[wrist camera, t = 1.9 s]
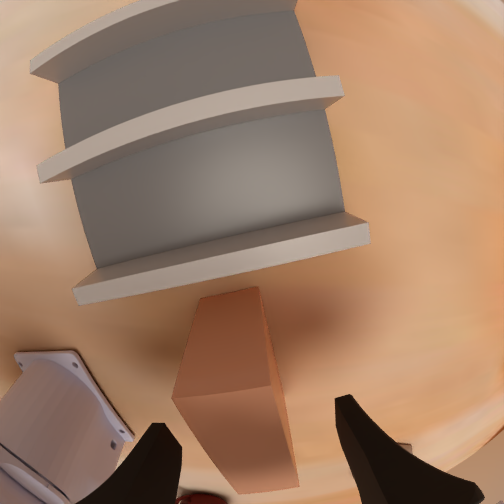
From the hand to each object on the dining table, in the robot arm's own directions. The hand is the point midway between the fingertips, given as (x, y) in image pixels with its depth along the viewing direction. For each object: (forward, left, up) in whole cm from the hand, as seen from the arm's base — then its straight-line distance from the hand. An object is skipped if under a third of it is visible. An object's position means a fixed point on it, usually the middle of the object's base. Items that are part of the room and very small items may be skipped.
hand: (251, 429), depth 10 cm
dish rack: (+12, 0, -5) cm, 13 cm away
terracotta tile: (0, 0, -6) cm, 6 cm away
